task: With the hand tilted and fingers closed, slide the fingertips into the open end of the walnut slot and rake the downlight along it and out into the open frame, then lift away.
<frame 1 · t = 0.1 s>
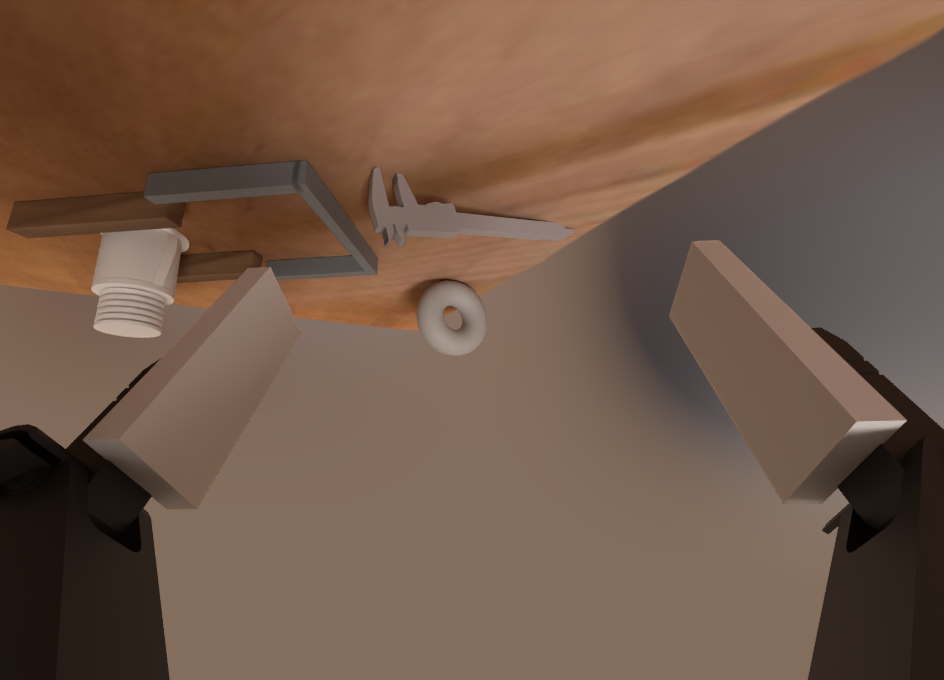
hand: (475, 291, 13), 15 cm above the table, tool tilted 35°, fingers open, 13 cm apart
downlight: (146, 231, 37), on the table
slot: (155, 233, 37), on the table
open frame: (283, 224, 36), on the table
donut: (452, 280, 51), on the table
caliper: (485, 200, 34), on the table
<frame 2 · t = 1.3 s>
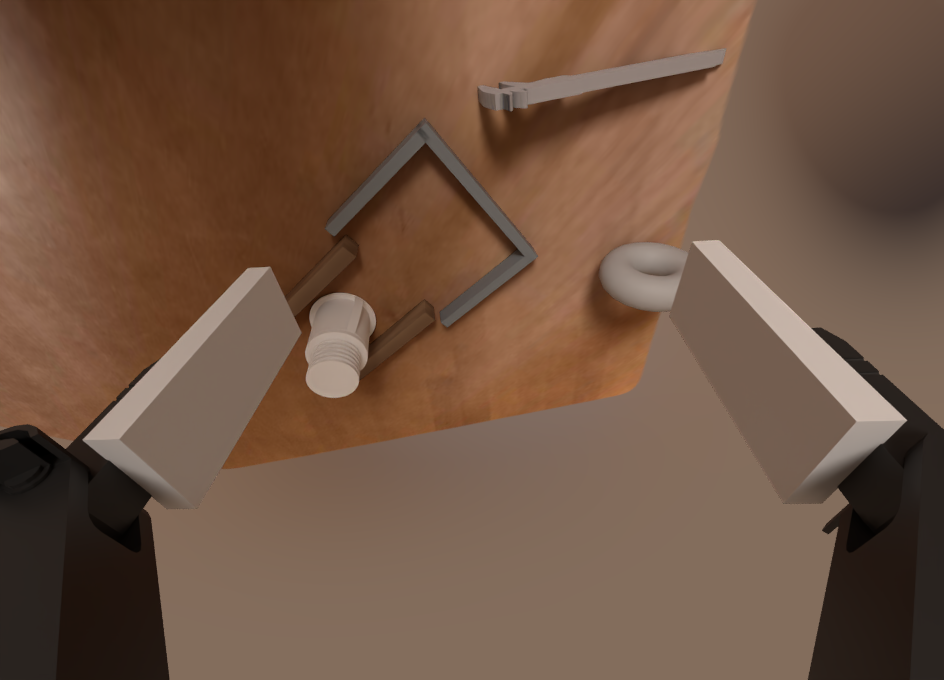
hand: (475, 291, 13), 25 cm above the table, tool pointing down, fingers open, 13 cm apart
downlight: (344, 317, 43), on the table
slot: (349, 313, 42), on the table
open frame: (435, 236, 38), on the table
donut: (627, 250, 42), on the table
caliper: (599, 73, 31), on the table
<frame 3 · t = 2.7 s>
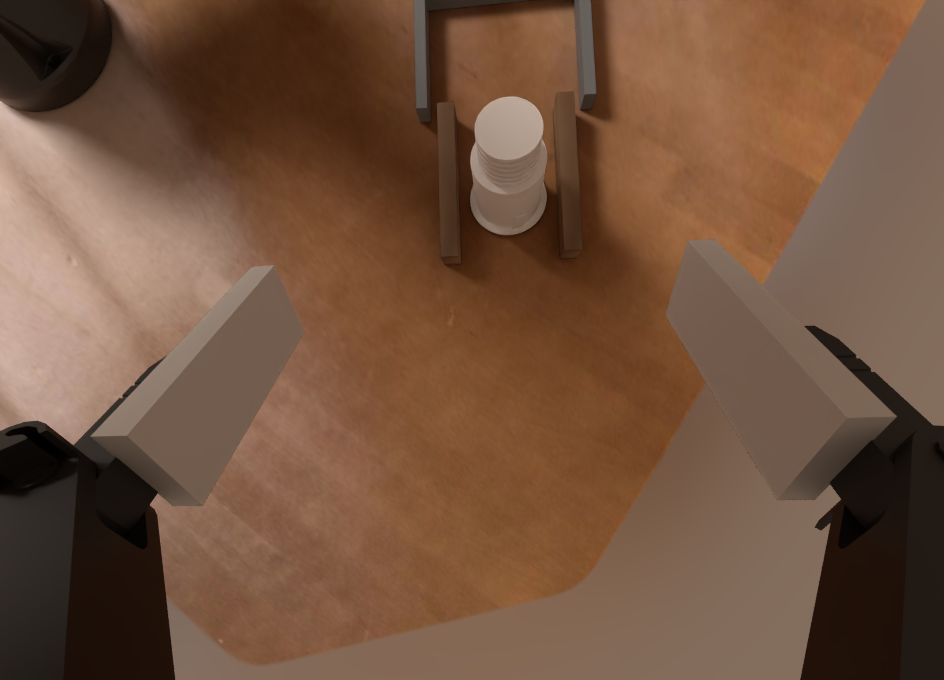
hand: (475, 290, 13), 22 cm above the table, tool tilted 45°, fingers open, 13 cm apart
downlight: (507, 199, 36), on the table
slot: (507, 187, 35), on the table
open frame: (502, 56, 37), on the table
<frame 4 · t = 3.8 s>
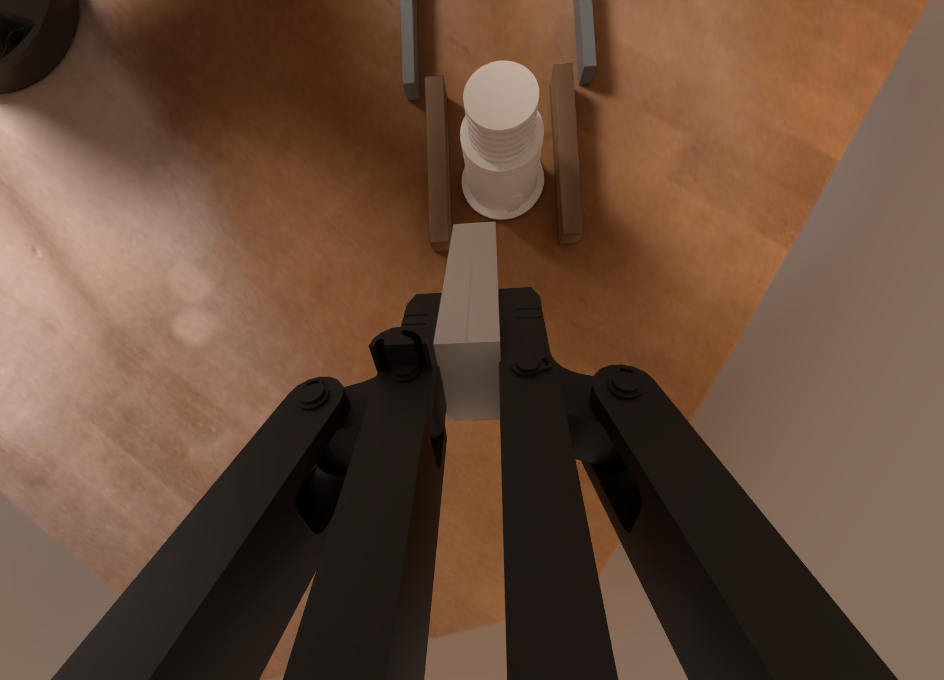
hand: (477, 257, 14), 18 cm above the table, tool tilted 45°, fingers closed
downlight: (502, 181, 33), on the table
slot: (501, 168, 33), on the table
open frame: (495, 28, 34), on the table
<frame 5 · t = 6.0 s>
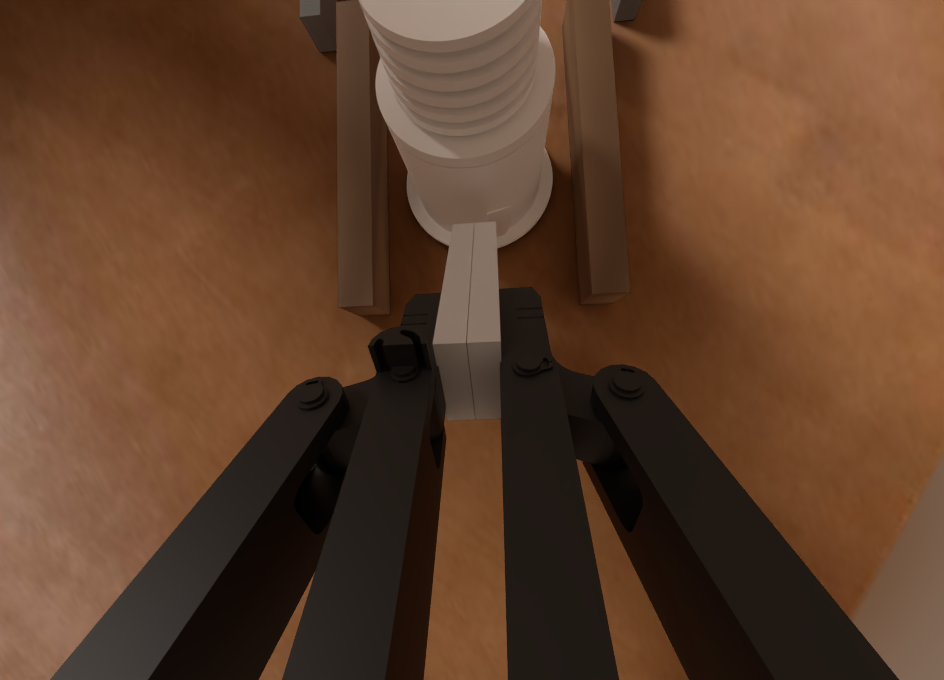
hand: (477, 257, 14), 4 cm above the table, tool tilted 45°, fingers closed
downlight: (478, 183, 19), on the table, touching gripper
slot: (477, 168, 19), on the table
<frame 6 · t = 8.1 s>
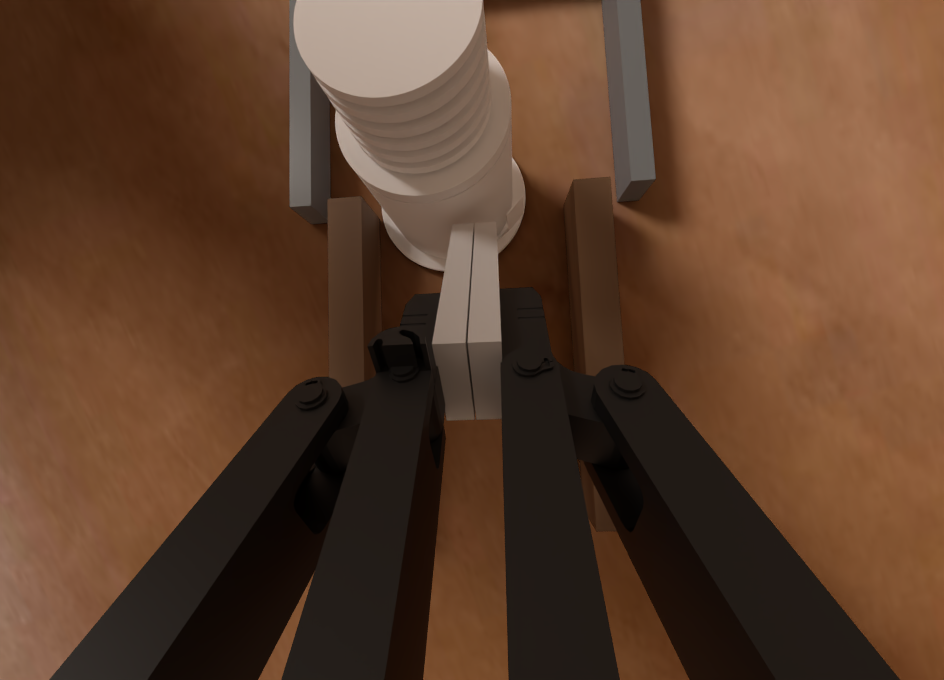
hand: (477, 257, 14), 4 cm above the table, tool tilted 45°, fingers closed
downlight: (451, 203, 19), on the table, touching gripper
slot: (475, 356, 18), on the table
open frame: (465, 96, 19), on the table
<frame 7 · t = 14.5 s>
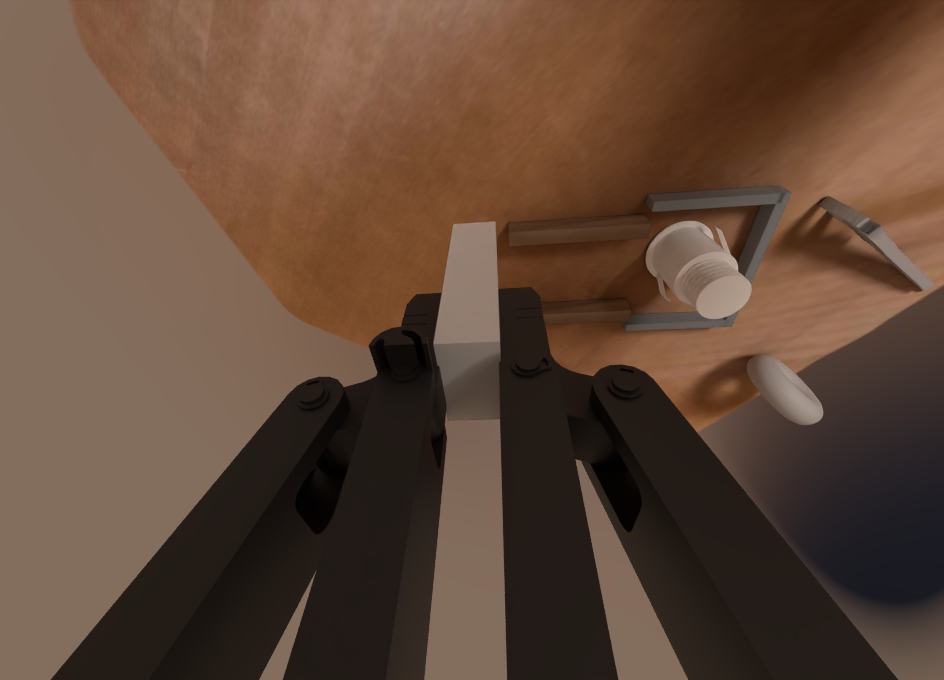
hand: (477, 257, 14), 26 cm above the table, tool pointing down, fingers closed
downlight: (678, 249, 42), on the table
slot: (570, 268, 44), on the table
open frame: (687, 262, 43), on the table
donut: (760, 360, 52), on the table
caliper: (874, 244, 41), on the table
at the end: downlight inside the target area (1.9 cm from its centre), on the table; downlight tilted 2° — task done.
